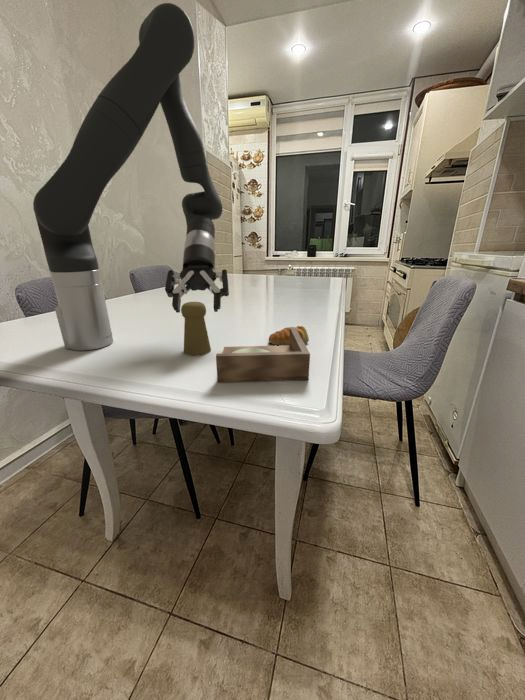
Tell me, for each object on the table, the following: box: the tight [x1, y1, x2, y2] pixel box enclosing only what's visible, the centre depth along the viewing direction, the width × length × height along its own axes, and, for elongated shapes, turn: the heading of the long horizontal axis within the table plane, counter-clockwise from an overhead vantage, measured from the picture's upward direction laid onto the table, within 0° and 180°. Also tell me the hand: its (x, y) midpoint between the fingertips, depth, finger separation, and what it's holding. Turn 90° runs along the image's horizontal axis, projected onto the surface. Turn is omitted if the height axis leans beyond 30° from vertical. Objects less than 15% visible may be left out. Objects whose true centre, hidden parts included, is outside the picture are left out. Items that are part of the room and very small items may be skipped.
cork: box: [180, 301, 212, 357], centre depth 63 cm, size 6×6×11 cm
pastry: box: [268, 325, 310, 346], centre depth 70 cm, size 9×7×4 cm
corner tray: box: [215, 326, 311, 384], centre depth 57 cm, size 16×16×5 cm
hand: (196, 310), depth 65 cm, fingers open, 8 cm apart
